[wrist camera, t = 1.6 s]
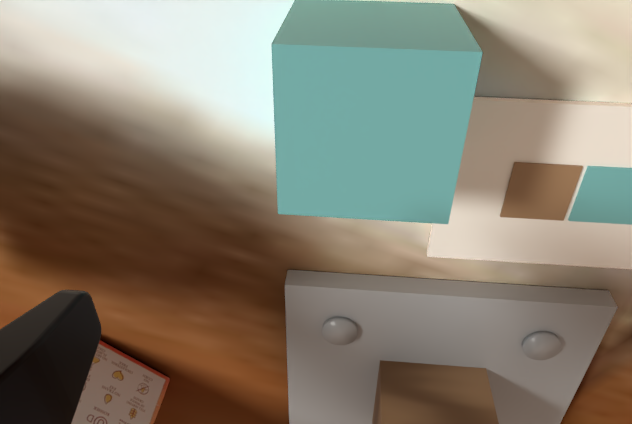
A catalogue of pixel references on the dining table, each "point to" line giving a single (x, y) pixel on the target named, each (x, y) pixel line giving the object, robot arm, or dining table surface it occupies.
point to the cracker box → (120, 390)
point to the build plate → (437, 340)
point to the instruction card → (542, 185)
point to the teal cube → (371, 108)
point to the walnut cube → (432, 394)
